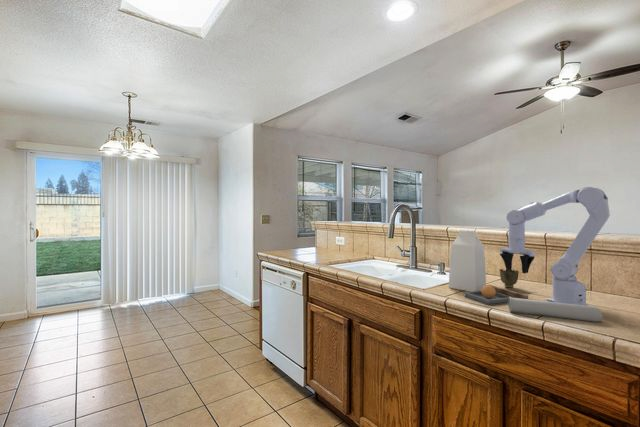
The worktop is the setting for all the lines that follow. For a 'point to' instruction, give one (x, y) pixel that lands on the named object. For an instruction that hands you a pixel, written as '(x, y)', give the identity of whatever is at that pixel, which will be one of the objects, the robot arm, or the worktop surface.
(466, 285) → the milk
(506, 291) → the fence
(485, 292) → the egg
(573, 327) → the worktop surface
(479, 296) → the tray
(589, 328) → the worktop surface
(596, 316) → the tube
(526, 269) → the robot arm
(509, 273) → the cup
